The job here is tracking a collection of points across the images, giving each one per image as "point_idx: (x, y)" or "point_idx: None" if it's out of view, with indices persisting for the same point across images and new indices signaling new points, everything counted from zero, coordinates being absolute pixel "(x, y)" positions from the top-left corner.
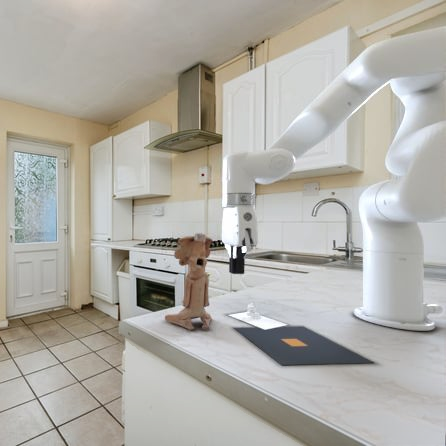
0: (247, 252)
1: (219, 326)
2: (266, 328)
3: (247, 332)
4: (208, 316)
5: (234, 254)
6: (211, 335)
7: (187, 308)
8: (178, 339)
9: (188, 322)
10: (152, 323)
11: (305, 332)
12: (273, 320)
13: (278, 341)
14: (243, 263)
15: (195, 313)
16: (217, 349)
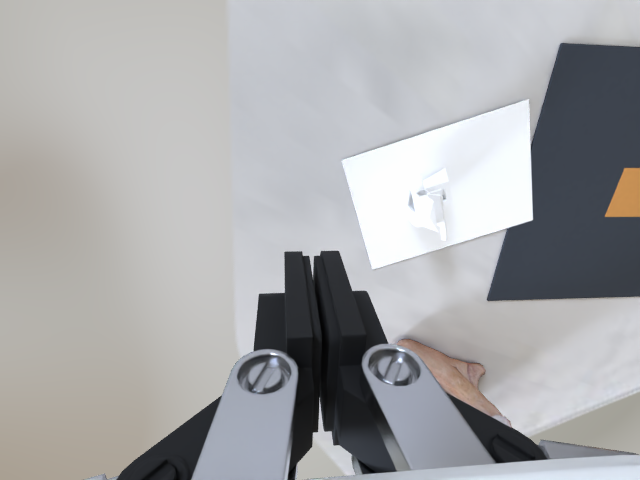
0: (582, 455)
1: (461, 330)
2: (526, 208)
3: (529, 280)
4: (461, 376)
5: (372, 472)
6: (508, 366)
7: None
8: None
9: None
10: None
11: (606, 89)
12: (468, 126)
13: (611, 232)
14: (351, 306)
15: None
16: (574, 376)
